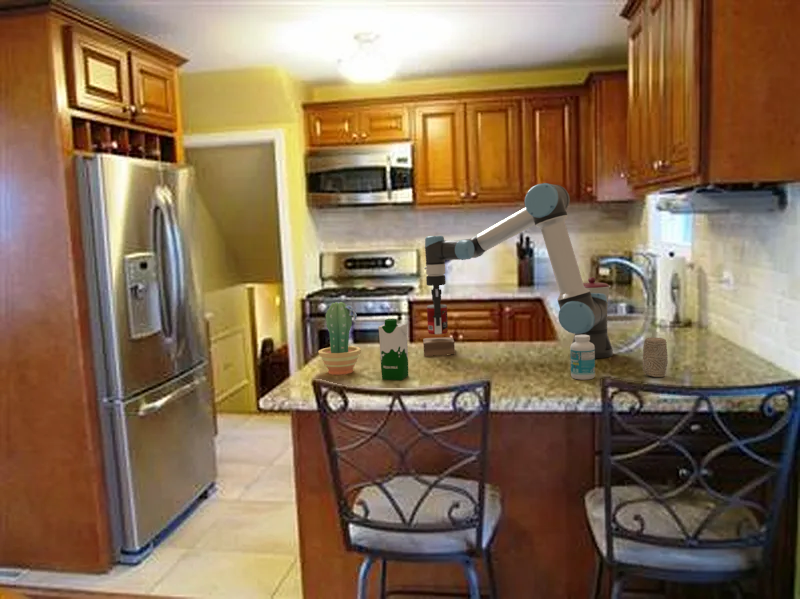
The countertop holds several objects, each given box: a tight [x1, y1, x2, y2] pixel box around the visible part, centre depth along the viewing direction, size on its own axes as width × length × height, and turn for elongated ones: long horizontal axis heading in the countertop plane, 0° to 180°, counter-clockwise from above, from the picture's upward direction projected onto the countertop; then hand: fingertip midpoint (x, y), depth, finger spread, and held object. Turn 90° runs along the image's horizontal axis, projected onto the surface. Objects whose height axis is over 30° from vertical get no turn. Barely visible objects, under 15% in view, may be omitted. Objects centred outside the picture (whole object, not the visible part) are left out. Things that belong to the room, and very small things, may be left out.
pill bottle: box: [569, 334, 596, 381], centre depth 210 cm, size 8×7×14 cm
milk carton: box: [378, 318, 409, 381], centre depth 222 cm, size 9×9×20 cm
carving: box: [642, 337, 669, 378], centre depth 207 cm, size 6×8×12 cm
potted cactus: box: [318, 301, 362, 376], centre depth 236 cm, size 15×15×25 cm
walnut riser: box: [422, 336, 456, 357], centre depth 264 cm, size 12×12×5 cm
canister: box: [583, 276, 611, 308], centre depth 339 cm, size 18×18×21 cm
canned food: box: [426, 303, 449, 335], centre depth 263 cm, size 8×8×11 cm
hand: (437, 332), depth 264 cm, fingers closed on canned food, 8 cm apart
